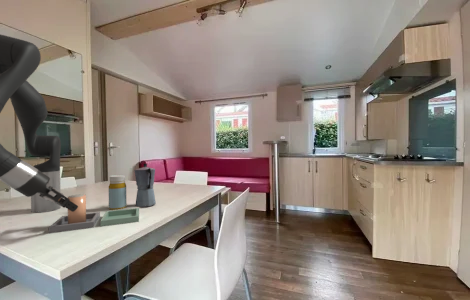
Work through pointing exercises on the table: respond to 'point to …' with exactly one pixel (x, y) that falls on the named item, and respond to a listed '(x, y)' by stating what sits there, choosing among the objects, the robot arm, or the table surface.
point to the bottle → (117, 192)
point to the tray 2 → (120, 217)
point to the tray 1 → (64, 226)
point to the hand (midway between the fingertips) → (71, 207)
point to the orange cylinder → (80, 212)
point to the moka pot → (145, 186)
